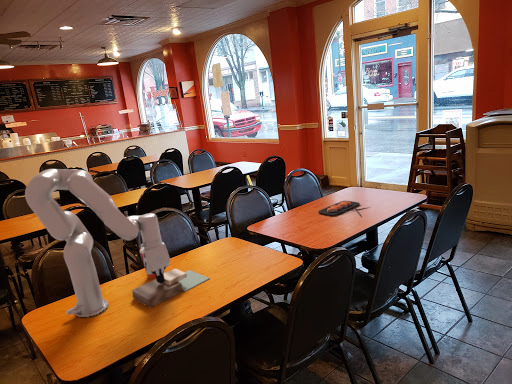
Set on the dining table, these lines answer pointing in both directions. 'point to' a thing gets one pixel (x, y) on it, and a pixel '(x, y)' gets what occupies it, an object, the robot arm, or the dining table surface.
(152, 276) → the coffee cup
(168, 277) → the beige rectangular block
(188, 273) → the mat
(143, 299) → the grey rectangular block
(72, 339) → the dining table surface
